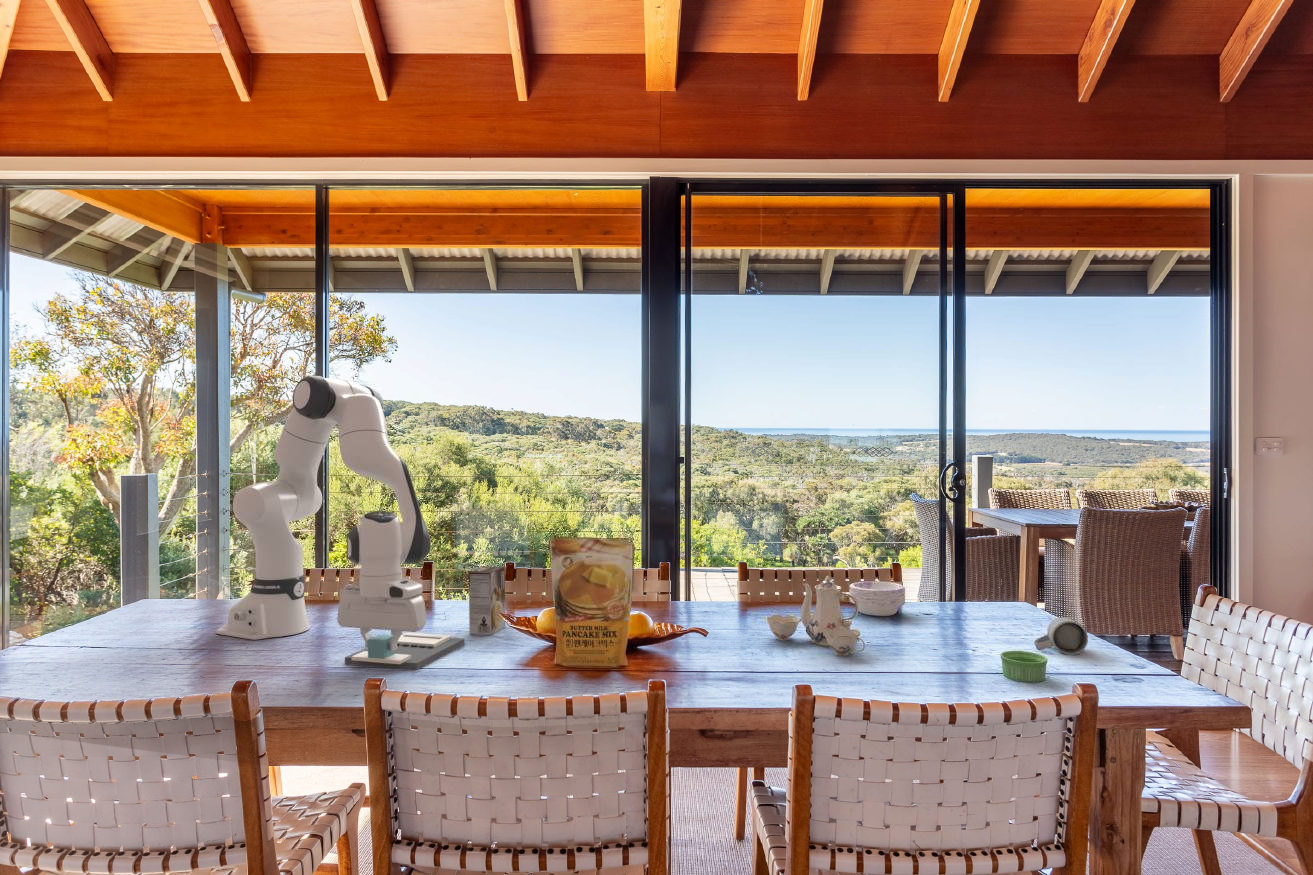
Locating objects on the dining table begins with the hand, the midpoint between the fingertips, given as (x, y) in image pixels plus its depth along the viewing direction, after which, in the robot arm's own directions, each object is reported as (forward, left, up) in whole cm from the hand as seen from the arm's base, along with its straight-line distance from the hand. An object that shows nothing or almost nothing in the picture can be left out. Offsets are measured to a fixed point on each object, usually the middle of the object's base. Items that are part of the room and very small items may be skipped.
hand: (381, 648), depth 173 cm
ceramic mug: (+147, +52, -4) cm, 156 cm away
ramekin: (+135, +28, -4) cm, 138 cm away
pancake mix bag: (+44, +14, -4) cm, 46 cm away
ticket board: (0, +11, -4) cm, 11 cm away
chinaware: (+92, +44, -4) cm, 102 cm away
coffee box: (+8, +35, -4) cm, 36 cm away
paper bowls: (+106, +81, -4) cm, 133 cm away
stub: (0, 0, -2) cm, 2 cm away
